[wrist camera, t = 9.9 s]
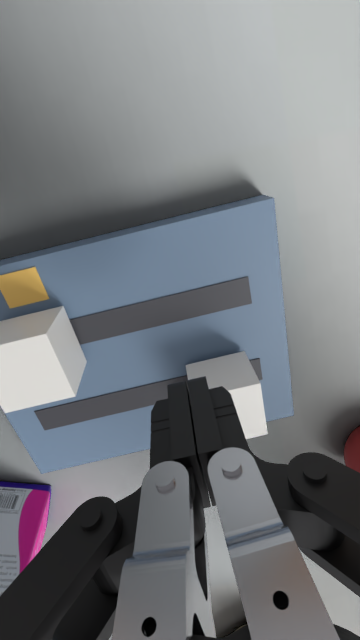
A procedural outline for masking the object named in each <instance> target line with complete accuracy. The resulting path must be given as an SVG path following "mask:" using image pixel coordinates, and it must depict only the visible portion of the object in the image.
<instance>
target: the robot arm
mask: <svg viewBox="0 0 360 640" xmlns="http://www.w3.org/2000/svg"><path fill="white" fill-rule="evenodd" d="M187 382H188V386H187ZM187 382H186V381H182V382H178V383H173V384H169V385H167V390H168V399H163V400H159V401H156V403H155V405H154V407H153V409H152V411H151V438H150V470H149V471H148V472H147V474H146V475H145V477H144V479H143V482H142V486H141V487H140V488H139V489H138V490H137V491H135V492H134V493H133V494H131V495H129V496H127V497H126V498H124V499H122V500H120V501H118V502H116V503H114V502H113V501H112V500H111V499H110V498H107V497H95V498H92V499H89V500H87V501H86V502H84V503H83V504H82V505H80V506H79V507H78V508H77V509H76V510H75V511H74V513H73V514H72V515H71V516H70V517H69V518H68V519H67V521H66V522H65V523H64V524H63V525H62V526H61V527H60V529H59V530H58V531H57V532H56V533H55V534H54V535H53V536H52V538H51V539H50V540H49V541H48V542H47V543H46V544H45V546H44V547H43V548H42V549H41V550H40V551H39V552H38V554H37V555H36V556H35V557H34V558H33V559H32V560H31V562H30V563H29V564H28V565H27V566H26V567H25V568H24V570H23V571H22V572H21V573H20V574H19V575H18V576H17V577H16V579H15V580H14V581H13V582H12V583H11V584H10V585H9V587H8V588H7V589H6V590H5V591H4V592H3V593H2V595H1V596H0V640H108V639H109V638H110V636H111V635H112V640H360V637H359V636H357V635H356V634H354V633H352V632H350V631H349V630H347V629H344V628H342V627H340V626H337V625H335V624H333V623H332V621H331V619H330V617H329V614H328V612H327V610H326V608H325V605H324V603H323V601H322V599H321V597H320V594H319V592H318V590H317V588H316V586H315V583H314V581H313V579H312V577H311V574H310V572H309V570H308V568H307V566H306V563H305V561H304V559H303V557H302V555H301V552H300V550H301V551H302V552H303V553H304V554H305V555H306V556H307V557H308V558H310V559H311V560H312V561H314V562H315V563H316V564H318V565H319V566H320V567H321V568H323V569H324V570H325V571H327V572H328V573H329V574H331V575H332V576H333V577H334V578H336V579H337V580H338V581H340V582H341V583H342V584H343V585H345V586H346V587H347V588H349V589H350V590H351V591H353V592H354V593H355V594H356V595H358V596H359V597H360V473H359V472H357V471H355V470H353V469H351V468H349V467H347V466H345V465H343V464H341V463H339V462H337V461H335V460H333V459H331V458H329V457H327V456H325V455H322V454H319V453H303V454H300V455H298V456H296V457H294V458H293V459H292V460H291V461H290V463H289V465H286V464H274V463H269V462H265V461H263V460H261V459H259V458H257V457H256V456H255V455H254V454H253V453H252V452H251V451H250V449H249V447H248V444H247V441H246V438H245V435H244V432H243V429H242V426H241V423H240V420H239V417H238V414H237V411H236V408H235V406H234V402H233V399H232V396H231V394H230V393H229V392H228V391H227V390H226V389H225V388H224V387H223V386H221V387H216V388H212V389H209V388H208V384H207V380H206V376H204V377H199V378H195V379H190V380H187ZM208 491H209V494H208ZM209 495H210V499H211V502H212V506H215V505H217V509H218V513H219V517H220V521H221V524H222V528H223V532H224V536H225V540H226V544H227V548H228V551H229V555H230V559H231V563H232V567H233V571H234V574H235V578H236V582H237V586H238V590H239V593H240V597H241V601H242V605H243V609H244V612H245V616H246V620H247V625H245V626H243V627H242V628H240V629H238V630H237V631H235V632H233V633H232V634H230V635H228V636H226V637H224V638H216V632H215V626H214V620H213V614H212V607H211V593H210V578H209V563H208V548H207V534H206V530H205V527H206V526H205V517H204V510H203V508H207V507H211V506H210V500H209ZM298 547H299V548H298ZM299 549H300V550H299Z"/></svg>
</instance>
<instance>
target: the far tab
mask: <svg viewBox="0 0 360 640" xmlns="http://www.w3.org/2000/svg"><path fill="white" fill-rule="evenodd" d="M185 366H186V371H187V377H188V380H190V379H195V378H199V377H204V376H206V380H207V384H208V388H209V389H212V388H216V387H221V386H223V387H224V388H225V389H226V390H227V391H228V392H229V393H230V394H231V396H232V399H233V402H234V406H235V408H236V411H237V414H238V417H239V420H240V423H241V426H242V429H243V432H244V435H245V438H246V439H249V438H254V437H258V436H262V435H267V434H268V432H267V425H266V418H265V411H264V404H263V397H262V390H261V383H260V381H259V379H258V377H257V375H256V373H255V371H254V369H253V367H252V365H251V363H250V361H249V359H248V357H247V355H246V353H245V351H242V352H238V353H234V354H230V355H225V356H221V357H217V358H213V359H209V360H204V361H200V362H196V363H192V364H188V365H185Z"/></svg>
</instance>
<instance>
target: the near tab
mask: <svg viewBox="0 0 360 640" xmlns="http://www.w3.org/2000/svg"><path fill="white" fill-rule="evenodd" d="M86 363H87V361H86V358H85V356H84V353H83V351H82V349H81V346H80V344H79V342H78V339H77V337H76V335H75V332H74V330H73V328H72V325H71V323H70V321H69V318H68V316H67V313H66V311H65V309H64V306H60V307H56V308H52V309H48V310H44V311H40V312H36V313H31V314H27V315H23V316H19V317H15V318H11V319H7V320H3V321H0V406H1V408H2V409H3V411H4V413H8V412H12V411H17V410H21V409H25V408H29V407H34V406H38V405H42V404H46V403H50V402H55V401H59V400H63V399H67V398H72V397H76V394H77V390H78V387H79V384H80V381H81V378H82V375H83V372H84V369H85V366H86Z"/></svg>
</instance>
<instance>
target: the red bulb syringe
mask: <svg viewBox="0 0 360 640" xmlns="http://www.w3.org/2000/svg"><path fill="white" fill-rule="evenodd" d="M344 460H345V464H346V466H347V467H349V468H351V469H353V470H355V471H357V472H359V473H360V426H359V427H357V428H356V429H355V430H354V431H353V432H352V433H351V434H350V435H349V437H348V439H347V441H346V444H345V448H344Z"/></svg>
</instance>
